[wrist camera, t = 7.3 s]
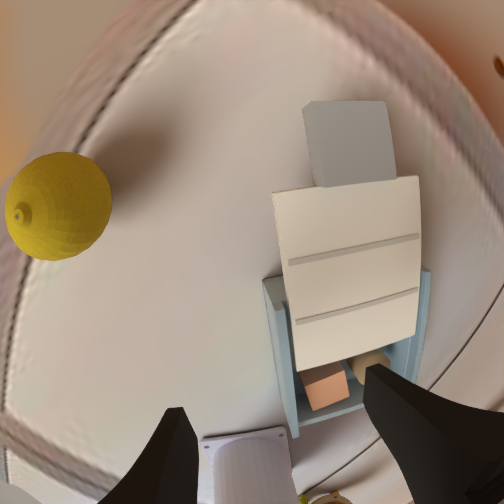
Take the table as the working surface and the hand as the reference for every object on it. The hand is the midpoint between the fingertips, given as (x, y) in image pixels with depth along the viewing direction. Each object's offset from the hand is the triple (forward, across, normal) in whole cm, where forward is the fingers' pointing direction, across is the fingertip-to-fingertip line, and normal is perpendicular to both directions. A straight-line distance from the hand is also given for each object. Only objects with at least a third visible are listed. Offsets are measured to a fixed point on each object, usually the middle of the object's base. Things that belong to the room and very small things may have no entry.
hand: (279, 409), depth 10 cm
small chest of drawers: (+6, -6, -4) cm, 10 cm away
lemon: (+10, +9, -9) cm, 16 cm away
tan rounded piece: (+9, -8, +6) cm, 14 cm away
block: (+9, -4, +7) cm, 12 cm away
